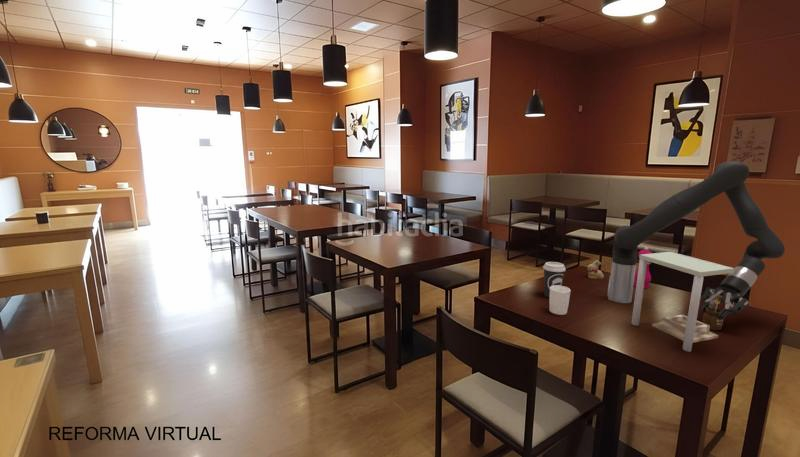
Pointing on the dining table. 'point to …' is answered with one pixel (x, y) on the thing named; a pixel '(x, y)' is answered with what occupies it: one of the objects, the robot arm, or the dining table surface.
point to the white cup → (559, 299)
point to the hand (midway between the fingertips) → (710, 314)
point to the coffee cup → (552, 276)
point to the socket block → (684, 328)
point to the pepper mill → (647, 276)
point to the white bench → (685, 265)
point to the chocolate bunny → (594, 270)
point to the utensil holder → (713, 316)
